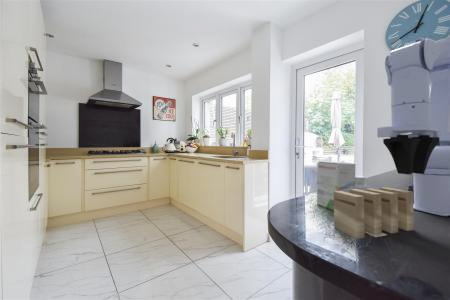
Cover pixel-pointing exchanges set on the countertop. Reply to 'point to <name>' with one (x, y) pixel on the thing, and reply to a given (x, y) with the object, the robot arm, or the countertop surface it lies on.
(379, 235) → the plate
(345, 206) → the tile
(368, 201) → the tile
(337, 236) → the countertop surface
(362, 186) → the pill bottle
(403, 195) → the tile
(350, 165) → the ink box
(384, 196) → the tile
